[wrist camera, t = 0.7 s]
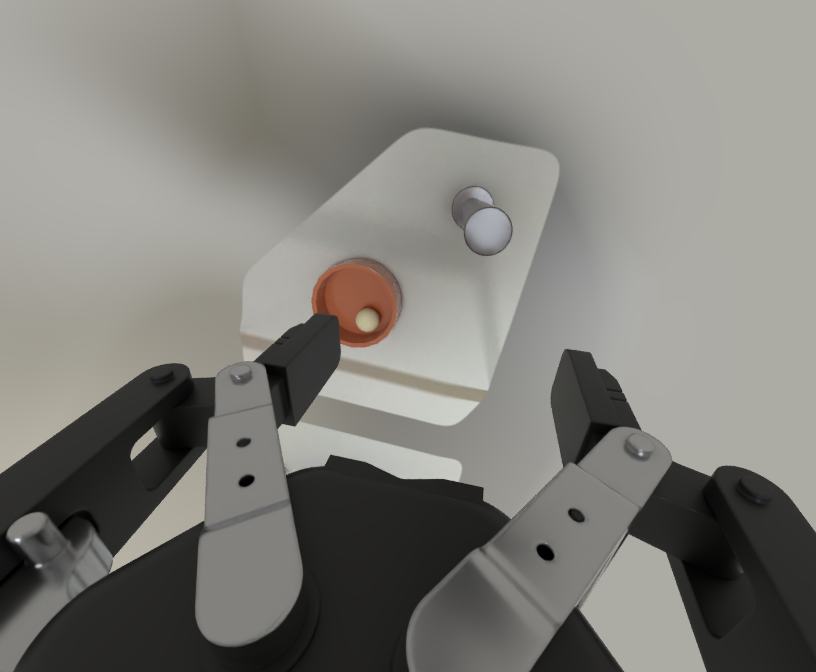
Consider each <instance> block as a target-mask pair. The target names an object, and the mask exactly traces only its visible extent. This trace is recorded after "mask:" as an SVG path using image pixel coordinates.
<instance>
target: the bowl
mask: <svg viewBox="0 0 816 672" xmlns="http://www.w3.org/2000/svg"><path fill="white" fill-rule="evenodd" d="M401 304H402V298H401V292H400V288H399V286H398V283H397V281H396V280H395V278H394V277H393V275H392V274H391V273H390V272H389V271H388V270H387V269H386V268H385V267H384V266H382V265H381V264H379V263H377V262H375V261H372V260H369V259H364V258H354V259H349V260H345V261H343V262H341V263H339V264H336V265H335V266H333V267H331V268H330V269H328V270H327V271H326V272H325V273H324V274H323V275H322V276H320V278H319V279H318V281H317V283H316V285H315V287H314V289H313V295H312V308H313V314H315V313H323V314H330V315H336V316H337V317H338V320H339V332H340V344H343V345H347V346H350V347H367V346H371V345H374V344H377V343H378V342H380V341H381V340H382V339H384V338H385V337H387V335H388V334H389V333H390V331H391V330H392V328H393V327H394V325H395V323H396V321H397V319H398V316H399V313H400V310H401ZM365 308H370V309H373V310H375V311H376V312H377V313H378V315H379V318H380V322H379V325H378V327H377V328H376V329H375V330H374V331H371V332H364V331H362V330H360V329H359V328H358V326H357V324H356V316H357V314H358V312H359V311H361V310H362V309H365Z"/></svg>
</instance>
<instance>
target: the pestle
mask: <svg viewBox="0 0 816 672" xmlns="http://www.w3.org/2000/svg"><path fill="white" fill-rule="evenodd" d="M452 215H453V218H454V220H455V222H456V223H457V224H458V225H459V226H460V227H461V228H463V229H464V237H465V241H466V243H467V245H468V247H469V248H470V249H471V250H472V251H473V252H475V253H476V254H479V255H482V256H491V255H495V254H497V253H499V252H501V251H502V250H503V249H504V248H505V247H506V246H507V245H508V243H509V242H510V239H511V236H512V223H511V220H510V218H509V217H508V215H507V214H506V213H505V212H504V211H502V210H501V209H499V208H496V207H494V202H493V199H492V197H491V195H490V194H489V193H488V192H487V191H486V190H485V189H483V188H481V187H468V188H465V189H464V190H462V191H461V192H459V193H458V195H457V196H456V197H455V199H454V201H453V204H452Z"/></svg>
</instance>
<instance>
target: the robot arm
mask: <svg viewBox="0 0 816 672" xmlns="http://www.w3.org/2000/svg"><path fill="white" fill-rule="evenodd" d="M340 355H341V348H340V332H339V320H338V317H337V316H336V315H330V314H323V313H315V314H314V315H313V316H312V317H311V318H310V319H309V320H308V321H307V322H306V323H305V324H302V323H301V324H299V325H297V326H295V327H292V328H290V329H289V330H288V331H287V332H285V333H284V334H283V335H282V336H281V338H279V339H278V340H277V341H276V342H275V344H272V345H271V346H270V347H269V348H268V349H267V350H266V351H265V352H263V353H262V354H261V355H260V356H259V357H258V358H257V359H256V360H255V361H254V362H251V361H247V362H239V363H235V364H232V365H229V366H227V367H226V368H224V369H222V370H221V371H220V372H219V373H218V374H217V376H216V377H212V378H192V376H191V373H190V370H189V368H188V367H187V366H185V365H183V364H177V363H171V364H164V365H160V366H156V367H153V368H151V369H148V370H146V371H145V372H143V373H141V374H140V375H139V376H137V377H136V378H134V379H133V380H132V381H130V382H129V383H128V384H126V385H124V386H123V387H122V388H120V389H119V390H117V391H116V392H115V393H113V394H112V395H111V396H109V397H108V398H106V399H105V400H104V401H102V402H101V403H99V404H98V405H96V406H95V407H94V408H92V409H91V410H89V411H88V412H87V413H85V414H84V415H82V416H81V417H80V418H78V419H77V420H75V421H74V422H73V423H71V424H70V425H68V426H67V427H66V428H64V429H63V430H61V431H60V432H59V433H57V434H56V435H54V436H53V437H52V438H50V439H49V440H47V441H46V442H45V443H43V444H42V445H40V446H39V447H37V448H36V449H35V450H33V451H32V452H30V453H29V454H28V455H26V456H25V457H24V458H22V459H21V460H19V461H18V462H16V463H15V464H14V465H12V466H11V467H10V468H8V469H7V470H5V471H4V472H2V473H1V474H0V672H624V671H623V670H622V668H621V667H620V665H619V664H618V663H617V661H616V660H615V658H614V657H613V656H612V654H611V653H610V651H609V650H608V649H607V647H606V646H605V645H604V643H603V642H602V640H601V639H600V638H599V636H598V635H597V633H596V632H595V631H594V629H593V628H592V626H591V625H590V624H589V623H588V621H587V620H586V618H585V617H584V615H583V614H582V613H581V611H580V609H581V608H582V606H583V605H584V603H585V601H586V600H587V598H588V597H589V595H590V594H591V592H592V590H593V588H594V587H595V586H596V584H597V582H598V581H599V579H600V578H601V576H602V575H603V573H604V572H605V570H606V569H607V567H608V566H609V564H610V563H611V561H612V559H613V558H614V556H615V555H616V553H617V552H618V550H619V549H620V547H621V546H622V544H623V543H624V541H625V540H626V538H627V537H628V535H629V534H630V535H632V536H634V537H636V538H638V539H640V540H642V541H644V542H646V543H648V544H650V545H652V546H654V547H656V548H658V549H660V550H663V551H664V552H666V553H667V557H668V560H669V562H670V565H671V568H672V571H673V574H674V577H675V580H676V583H677V586H678V589H679V592H680V595H681V597H682V601H683V603H684V606H685V609H686V612H687V615H688V618H689V621H690V624H691V627H692V630H693V633H694V636H695V638H696V642H697V644H698V647H699V650H700V653H701V656H702V659H703V662H704V665H705V668H706V671H707V672H816V532H815V531H814V530H813V528H812V527H811V526H810V524H809V523H808V522H807V520H806V519H805V517H804V516H803V515H802V513H801V512H800V511H799V509H798V508H797V507H796V505H795V504H794V503H793V501H792V500H791V499H790V498H789V496H788V495H787V494H786V493H784V491H783V490H781V489H780V488H779V487H778V486H776V485H775V484H773V483H772V482H771V481H769V480H767V479H766V478H764V477H762V476H760V475H758V474H757V473H754V472H752V471H750V470H747V469H744V468H740V467H736V466H721V467H719V468H717V469H716V471H715V472H714V473H713V475H712V476H708V475H705V474H703V473H700V472H698V471H695V470H693V469H690V468H688V467H685V466H682V465H680V464H678V463H676V462H673V461H672V457H671V454H670V452H669V450H668V449H667V448H666V447H665V446H664V445H663V444H662V443H661V442H660V441H659V440H658V439H656V438H655V437H653V436H651V435H650V434H648V433H646V432H644V431H642V430H641V428H640V426H639V424H638V422H637V421H636V418H635V416H634V414H633V412H632V410H631V408H630V406H629V404H628V402H627V401H626V398H625V395H624V393H622V389H621V387H620V385H619V383H618V381H617V380H616V379H615V378H614V377H613V376H612V375H611V374H610V373H609V372H607V371H606V370H604V369H598V368H597V366H596V364H595V362H594V359H593V357H592V355H591V353H590V352H584V351H577V350H570V349H565V350H564V352H563V354H562V357H561V361H560V364H559V367H558V370H557V373H556V376H555V380H554V383H553V386H552V391H551V407H552V413H553V418H554V423H555V428H556V433H557V438H558V443H559V448H560V453H561V458H562V463H563V469H562V470H561V471H560V472H559V473H558V474H557V475H556V476H555V477H554V478H553V479H552V480H551V481H550V482H548V484H546V485H545V487H544V488H543V489H541V490H540V492H539V493H538V494H537V495H535V496H534V497H533V498H532V499H531V500H530V501H529V502H528V503H527V504H526V505H525V506H524V507H523V508H522V509H521V510H520V511H519V512H518V514H516V515H515V516H514V517H513V518H512V519H510V518H509V517H508V516H507V515H505V514H504V513H503V512H501V511H500V510H499V509H497V508H495V507H494V506H492V505H490V504H489V503H486V502H484V501H483V488H482V487H478V486H474V485H469V484H464V483H460V482H455V481H450V480H446V479H400V478H398V477H396V476H394V475H391V474H389V473H387V472H385V471H383V470H381V469H379V468H377V467H375V466H373V465H371V464H368V463H366V462H362V461H357V460H353V459H348V458H343V457H339V456H334V455H330V457H329V459H328V461H327V462H326V464H325V466H319V467H311V468H306V469H302V470H299V471H296V472H293V473H291V474H288V475H286V472H285V467H284V462H283V456H282V451H281V446H280V440H279V435H278V430H277V429H278V428H279V427H280V425H281V424H285V425H290V426H296V425H297V423H298V422H299V420H300V419H301V417H302V416H303V415H304V413H305V412H306V410H307V409H308V408H309V406H310V405H311V403H312V402H313V400H314V399H315V398H316V396H317V395H318V393H319V392H320V391H321V389H322V388H323V386H324V385H325V384H326V382H327V381H328V379H329V378H330V376H331V375H332V374H333V372H334V371H335V369H336V368H337V366H338V364H339V361H340ZM152 427H153V428H154V431H155V433H156V435H157V437H156V438H155V439H154V440H153V441H152V442H151V443H150V444H149V445H148V446H147V447H146V448H145V449H144V450H143V451H142V452H141V453H139V454H138V455H137V456H136V457H135V458H134V459H133V460H132V461H131V458H130V454H131V450H132V448H133V446H134V444H135V443H136V442H137V441H138V440H139V439H140V438H141V437H142V436H143V435H144V434H145V433H146V432H147V431H148V430H149V429H151V428H152ZM206 449H207V468H206V495H205V520H204V521H203V522H201V523H199V524H198V525H196V526H194V527H192V528H190V529H189V530H187V531H185V532H183V533H182V534H180V535H178V536H176V537H174V538H173V539H171V540H169V541H167V542H165V543H164V544H162V545H160V546H158V547H157V548H155V549H153V550H151V551H149V552H148V553H146V554H144V555H142V556H140V557H139V558H137V559H135V560H133V561H132V562H130V563H128V564H126V565H124V566H122V567H121V568H119V569H117V570H115V571H113V572H112V573H110V574H109V572H110V569H111V567H112V562H113V557H114V556H115V555H116V554H117V553H118V552H119V550H120V549H121V548H122V547H123V546H124V545H125V543H126V542H127V541H128V540H129V539H130V538H131V536H132V535H133V534H134V533H135V532H136V531H137V529H138V528H139V527H140V526H141V524H143V522H144V521H145V520H146V519H147V518H148V517H149V515H150V514H151V513H152V512H153V511H154V510H155V508H156V507H157V506H158V505H159V504H160V503H161V501H162V500H163V499H164V498H165V497H166V495H167V494H168V493H169V492H170V490H172V489H173V487H174V486H175V485H176V484H177V483H178V481H179V480H180V479H181V478H182V477H183V476H184V474H185V473H186V472H187V471H188V470H189V469H190V467H191V466H192V465H193V464H194V463H195V462H196V460H197V459H198V458H199V457H200V456H201V455H202V453H203V452H204V451H205V450H206Z"/></svg>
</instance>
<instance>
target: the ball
mask: <svg viewBox="0 0 816 672" xmlns="http://www.w3.org/2000/svg"><path fill="white" fill-rule="evenodd" d="M379 322H380V318H379V315H378V313H377V312H376V311H375V310H373V309H370V308H365V309H362V310H361V311H359V312H358V314H357V316H356V324H357V326H358V328H359V329H360V330H362V331H364V332H371V331H374V330H375V329H376V328H377V327H378V325H379Z"/></svg>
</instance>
